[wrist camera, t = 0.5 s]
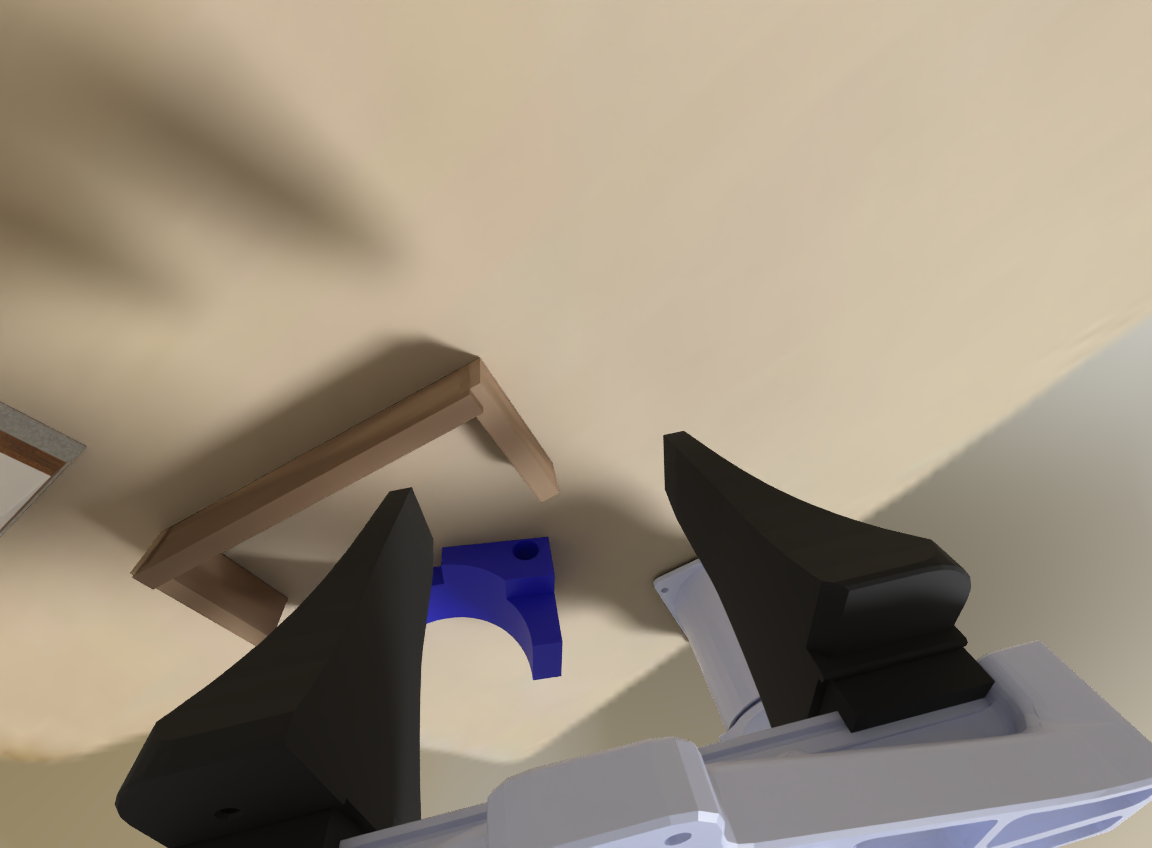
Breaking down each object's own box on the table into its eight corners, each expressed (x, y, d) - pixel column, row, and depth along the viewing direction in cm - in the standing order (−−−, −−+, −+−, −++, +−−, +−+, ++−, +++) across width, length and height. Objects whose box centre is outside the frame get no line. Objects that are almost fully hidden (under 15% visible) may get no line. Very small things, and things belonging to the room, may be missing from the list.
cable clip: (547, 534, 28) (563, 623, 23) (547, 585, 31) (561, 676, 26) (329, 556, 26) (295, 658, 21) (347, 609, 29) (320, 712, 24)
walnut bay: (552, 462, 25) (561, 500, 23) (273, 606, 27) (252, 655, 25) (480, 357, 21) (480, 388, 19) (160, 532, 23) (122, 582, 21)
